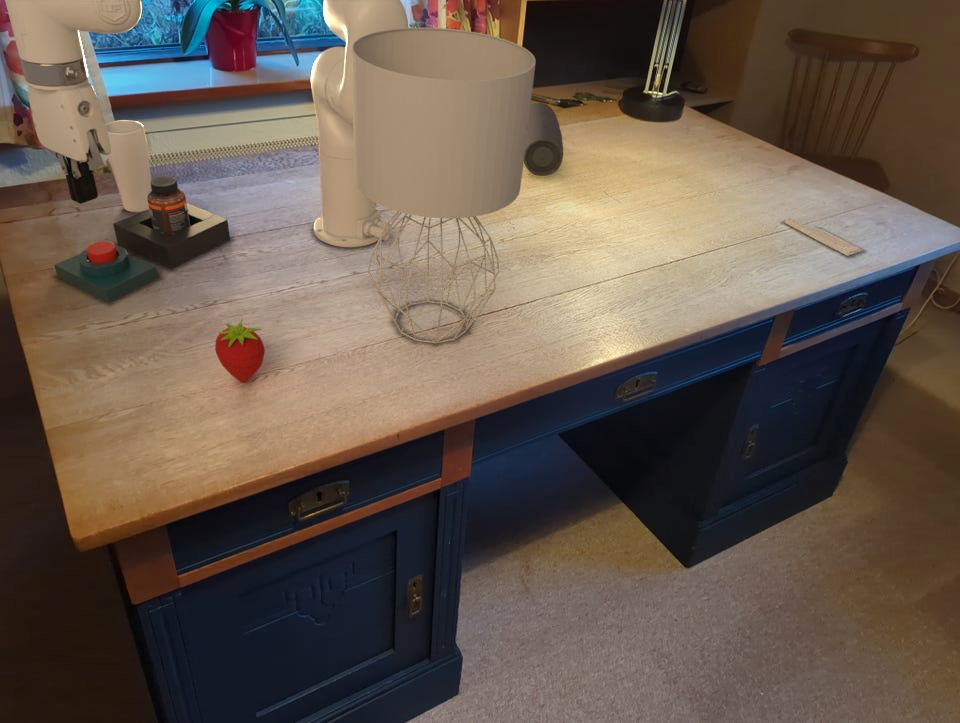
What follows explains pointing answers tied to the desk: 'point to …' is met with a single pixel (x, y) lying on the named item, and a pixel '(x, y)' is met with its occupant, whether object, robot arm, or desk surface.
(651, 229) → the desk surface
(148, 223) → the socket block
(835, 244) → the thin wooden strip
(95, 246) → the switch button
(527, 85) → the table lamp
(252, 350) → the strawberry
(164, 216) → the supplement bottle
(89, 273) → the switch box
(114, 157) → the drinking glass
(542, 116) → the bluetooth speaker
